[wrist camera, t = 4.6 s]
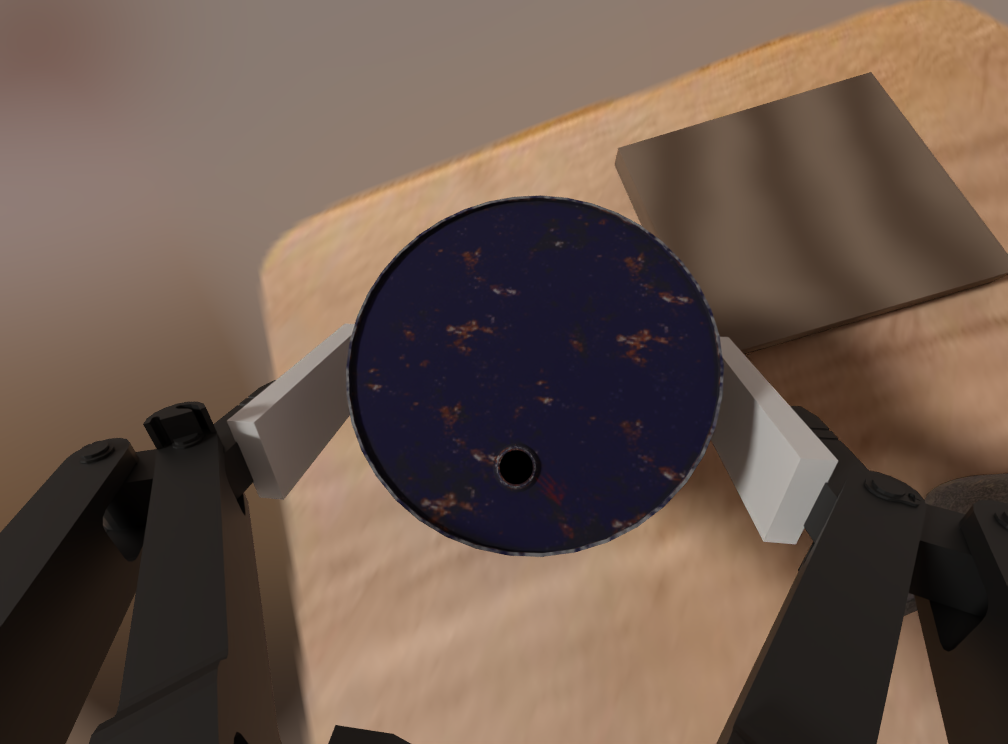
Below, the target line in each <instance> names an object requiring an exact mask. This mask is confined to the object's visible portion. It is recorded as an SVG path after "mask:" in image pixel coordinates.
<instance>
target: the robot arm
mask: <svg viewBox="0 0 1008 744" xmlns="http://www.w3.org/2000/svg"><path fill="white" fill-rule="evenodd" d="M354 325H355V324H344V325H343V326H341V327H340V328H339V329H338V330H337V331H335V332H334V333H333V334H332V335H330V336H329V337H328V338H327V339H326V340H324V341H323V342H322V343H321V344H320V345H318V346H317V347H316V348H315V349H313V350H312V351H311V352H310V353H309V354H307V355H306V356H305V357H304V358H303V359H301V360H300V361H299V362H298V363H296V364H295V365H294V366H293V367H292V368H290V369H289V370H288V371H287V372H285V373H284V374H283V375H282V376H281V377H279V378H278V379H277V380H274V381H272V382H270V383H268V384H266V385H264V386H262V387H260V388H258V389H257V390H256V391H255V392H253V393H252V394H251V395H250V396H249V398H246V399H245V400H243V401H242V402H241V403H240V405H239V406H236V407H235V408H233V409H232V410H231V411H230V412H228V413H227V414H226V415H225V416H223V417H222V418H221V419H220V420H218V421H217V422H216V423H215V424H213V422H212V420H211V419H210V416H209V413H208V411H207V409H206V407H205V405H204V404H203V403H200V402H184V403H179V404H175V405H172V406H169V407H166V408H164V409H162V410H159V411H158V412H155V413H154V414H153V415H151V416H150V417H148V418H147V419H146V421H145V422H144V424H143V425H144V427H145V428H146V430H147V432H148V434H149V436H150V437H151V439H152V441H153V443H154V445H155V446H156V448H157V449H154V450H147V451H140V452H135V451H134V449H133V447H132V446H131V444H130V442H129V441H128V440H127V439H123V438H113V439H107V440H103V441H97V442H94V443H92V444H89V445H86V446H84V447H83V448H82V449H80V450H78V451H76V452H75V453H73V454H72V455H70V456H69V457H68V458H67V459H66V460H65V461H64V462H63V463H62V464H61V465H60V466H59V467H58V469H57V470H56V471H55V472H54V473H53V474H52V475H51V476H50V478H49V479H48V480H47V481H46V482H45V483H44V484H43V485H42V487H41V488H40V489H39V490H38V491H37V492H36V493H35V494H34V495H33V497H32V498H31V499H30V500H29V501H28V502H27V503H26V505H25V506H24V507H23V508H22V509H21V510H20V511H19V512H18V513H17V515H16V516H15V517H14V518H13V519H12V520H11V521H10V523H9V524H8V525H7V526H6V527H5V528H4V529H3V530H2V532H1V533H0V744H65V743H66V741H67V739H68V737H69V735H70V733H71V731H72V728H73V726H74V724H75V722H76V720H77V718H78V716H79V713H80V711H81V709H82V707H83V705H84V703H85V700H86V698H87V696H88V694H89V692H90V689H91V688H92V685H93V683H94V681H95V678H96V677H97V675H98V672H99V670H100V668H101V666H102V664H103V662H104V659H105V657H106V655H107V653H108V651H109V649H110V646H111V644H112V642H113V640H114V638H115V636H116V633H117V631H118V629H119V627H120V625H121V623H122V621H123V618H124V616H125V614H126V612H127V610H128V608H129V606H130V603H131V601H132V599H133V597H134V594H135V593H136V595H135V602H134V609H133V616H132V622H131V629H130V635H129V642H128V648H127V656H126V662H125V668H124V675H123V683H122V689H121V695H120V701H119V706H118V710H117V714H116V715H115V717H113V718H111V719H109V720H107V721H105V722H104V723H102V724H100V725H99V726H98V727H97V728H96V730H95V731H94V733H93V734H92V736H91V739H90V742H89V744H282V743H281V740H280V736H279V731H278V725H277V719H276V711H275V703H274V696H273V689H272V681H271V673H270V666H269V658H268V650H267V642H266V634H265V627H264V619H263V612H262V604H261V596H260V589H259V582H258V573H257V566H256V559H255V551H254V543H253V535H252V528H251V520H250V513H249V505H248V500H247V498H246V495H245V493H244V492H245V490H246V489H247V488H248V487H249V486H250V485H251V484H252V483H254V486H255V488H256V490H257V493H258V495H259V497H262V498H274V499H285V497H286V496H287V495H288V493H289V492H290V491H291V490H292V488H293V487H294V486H295V485H296V483H297V482H298V481H299V479H300V478H301V477H302V476H303V474H304V473H305V472H306V471H307V469H308V468H309V467H310V465H311V464H312V463H313V462H314V460H315V459H316V458H317V456H318V455H319V454H320V453H321V451H322V450H323V449H324V448H325V446H326V445H327V444H328V442H329V441H330V440H331V439H332V437H333V436H334V435H335V433H336V432H337V431H338V430H339V428H340V427H341V426H342V425H343V423H344V422H345V421H346V419H347V418H348V417H349V416H350V411H349V406H348V401H347V390H346V365H347V358H348V350H349V343H350V339H351V336H352V332H353V329H354ZM720 342H721V349H722V357H723V364H724V373H723V396H722V401H721V406H720V410H719V415H718V419H717V424H716V427H715V430H714V432H713V435H712V437H711V441H712V443H713V445H714V447H715V449H716V450H717V452H718V454H719V456H720V458H721V460H722V462H723V464H724V466H725V468H726V470H727V472H728V474H729V476H730V478H731V480H732V481H733V483H734V485H735V487H736V489H737V491H738V493H739V495H740V497H741V499H742V501H743V503H744V505H745V507H746V509H747V510H748V512H749V514H750V516H751V518H752V520H753V522H754V524H755V526H756V528H757V530H758V532H759V534H760V536H761V538H762V539H763V541H764V542H774V543H786V544H796V543H797V541H798V539H799V537H800V535H801V533H802V531H803V529H804V527H805V529H806V530H807V532H808V534H809V535H810V537H811V538H812V540H813V541H814V542H813V543H812V545H811V547H810V549H809V551H808V553H807V555H806V556H805V558H804V560H803V562H802V564H801V566H800V568H799V569H798V571H799V572H798V574H797V576H796V578H795V580H794V582H793V584H792V586H791V589H790V591H789V593H788V595H787V597H786V599H785V601H784V603H783V605H782V607H781V610H780V612H779V614H778V616H777V618H776V620H775V622H774V624H773V626H772V628H771V630H770V633H769V635H768V637H767V639H766V641H765V643H764V645H763V647H762V649H761V651H760V653H759V656H758V658H757V660H756V662H755V664H754V666H753V668H752V670H751V672H750V674H749V677H748V679H747V681H746V683H745V685H744V687H743V689H742V691H741V693H740V695H739V697H738V700H737V702H736V704H735V706H734V708H733V710H732V712H731V714H730V716H729V718H728V720H727V723H726V725H725V727H724V729H723V731H722V733H721V735H720V737H719V739H718V741H717V744H877V739H878V735H879V730H880V725H881V720H882V716H883V711H884V706H885V702H886V697H887V692H888V687H889V683H890V678H891V673H892V669H893V664H894V659H895V655H896V650H897V645H898V640H899V636H900V631H901V626H902V622H903V617H904V612H905V607H906V603H907V598H908V593H910V594H913V595H914V597H915V602H916V606H917V610H918V614H919V619H920V623H921V627H922V632H923V636H924V640H925V645H926V649H927V653H928V658H929V662H930V666H931V671H932V675H933V679H934V684H935V688H936V692H937V696H938V701H939V705H940V709H941V714H942V718H943V722H944V727H945V731H946V735H947V740H948V744H1008V503H1004V502H999V501H994V500H979V501H978V502H976V503H974V504H973V505H972V506H971V508H970V509H969V510H968V512H967V513H966V514H963V513H959V512H955V511H951V510H948V509H944V508H940V507H936V506H932V505H928V504H926V503H925V500H924V499H923V498H922V497H921V495H920V494H919V493H918V492H917V491H916V490H914V489H913V488H911V487H910V486H908V485H907V484H906V483H904V482H902V481H900V480H898V479H895V478H893V477H891V476H888V475H885V474H882V473H879V472H874V471H869V470H868V469H867V468H866V467H865V466H864V465H863V464H862V463H861V461H860V460H859V459H858V458H857V457H856V456H855V455H854V454H853V453H852V452H851V451H850V450H849V449H848V448H847V447H846V446H845V445H844V444H843V443H842V442H841V441H838V437H837V436H836V435H835V434H834V433H833V432H832V431H829V428H828V427H827V426H826V425H825V424H824V423H823V422H822V421H821V420H820V419H819V418H818V417H817V416H816V415H814V414H812V413H811V412H809V411H807V410H806V409H804V408H802V407H801V406H789V405H788V403H787V402H786V401H785V400H784V399H783V398H782V397H781V396H780V394H779V393H778V392H777V391H776V390H775V389H774V388H773V387H772V385H771V384H770V383H769V382H768V381H767V380H766V379H765V378H764V376H763V375H762V374H761V373H760V372H759V371H758V370H757V369H756V367H755V366H754V365H753V364H752V363H751V362H750V361H749V360H748V358H747V357H746V356H745V355H744V354H743V353H742V352H741V351H740V349H739V348H738V347H737V346H736V345H735V344H734V343H733V342H732V340H731V339H730V338H729V337H720ZM328 744H410V743H409V742H407V741H405V740H403V739H401V738H400V737H398V736H396V735H394V734H390V733H384V732H377V731H371V730H364V729H357V728H351V727H344V726H338V725H335V728H334V730H333V733H332V736H331V738H330V741H329V743H328Z"/></svg>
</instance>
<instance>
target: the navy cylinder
mask: <svg viewBox="0 0 1008 744" xmlns="http://www.w3.org/2000/svg"><path fill="white" fill-rule="evenodd" d="M723 373H724V364H723V357H722V349H721V342H720V336H719V333H718V329H717V326H716V323H715V320H714V316H713V313H712V310H711V308H710V306H709V304H708V302H707V300H706V298H705V296H704V294H703V292H702V290H701V288H700V286H699V284H698V283H697V281H696V280H695V278H694V277H693V276H692V274H691V273H690V272H689V270H688V269H687V267H686V266H685V265H684V263H683V262H682V261H681V260H680V259H679V258H678V257H677V256H676V255H675V254H674V253H673V252H672V251H671V250H670V249H669V248H668V247H667V246H666V245H665V244H664V243H663V242H662V241H661V240H660V239H658V238H657V237H656V236H654V235H653V234H652V233H650V232H649V231H648V230H646V229H645V228H644V227H642V226H641V225H639V224H637V223H635V222H633V221H632V220H630V219H628V218H626V217H624V216H622V215H620V214H619V213H616V212H614V211H611V210H608V209H606V208H603V207H600V206H598V205H595V204H592V203H588V202H583V201H579V200H574V199H569V198H562V197H550V196H523V197H511V198H506V199H500V200H495V201H489V202H486V203H483V204H480V205H477V206H473V207H470V208H467V209H464V210H462V211H460V212H458V213H456V214H454V215H452V216H449V217H447V218H445V219H443V220H441V221H439V222H438V223H436V224H435V225H433V226H432V227H430V228H429V229H427V230H426V231H424V232H422V233H421V234H419V235H418V236H417V237H416V238H415V239H414V240H412V241H411V242H410V243H409V244H408V245H407V246H405V247H404V248H403V249H402V250H401V251H400V252H399V253H398V254H397V255H396V256H395V257H394V258H393V260H392V261H391V262H390V263H389V264H388V265H387V266H386V268H385V269H384V270H383V271H382V272H381V274H380V275H379V277H378V279H377V280H376V282H375V283H374V285H373V286H372V288H371V289H370V291H369V292H368V294H367V296H366V298H365V301H364V303H363V305H362V307H361V309H360V311H359V314H358V316H357V319H356V322H355V325H354V329H353V332H352V336H351V339H350V343H349V350H348V358H347V365H346V390H347V401H348V406H349V411H350V417H351V422H352V426H353V428H354V431H355V434H356V437H357V439H358V442H359V445H360V448H361V450H362V452H363V454H364V456H365V458H366V459H367V461H368V463H369V465H370V466H371V468H372V470H373V472H374V473H375V475H376V477H377V478H378V479H379V480H380V482H381V483H382V484H383V485H384V487H385V488H386V489H387V490H388V491H389V493H390V494H391V495H392V496H393V498H394V499H395V500H396V501H397V502H398V503H400V504H401V505H402V506H403V507H404V508H405V509H406V510H408V511H409V512H410V513H411V514H412V515H413V516H414V517H416V518H417V519H418V520H419V521H421V522H423V523H424V524H426V525H428V526H429V527H431V528H432V529H434V530H436V531H437V532H439V533H441V534H442V535H444V536H446V537H448V538H451V539H453V540H456V541H458V542H461V543H463V544H466V545H468V546H471V547H473V548H476V549H480V550H485V551H490V552H494V553H499V554H504V555H509V556H535V557H544V556H551V555H559V554H566V553H574V552H578V551H581V550H584V549H588V548H591V547H594V546H597V545H600V544H604V543H607V542H609V541H611V540H613V539H615V538H617V537H619V536H621V535H623V534H625V533H627V532H629V531H630V530H632V529H634V528H636V527H638V526H639V525H641V524H642V523H643V522H645V521H646V520H647V519H649V518H650V517H651V516H653V515H654V514H655V513H656V512H658V511H659V510H660V509H662V508H663V507H664V506H665V505H666V504H667V503H668V502H669V501H670V500H671V499H672V498H673V497H674V496H675V494H676V493H677V492H678V491H679V490H680V489H681V488H682V487H683V486H684V485H685V484H686V483H687V481H688V479H689V478H690V476H691V475H692V473H693V472H694V470H695V469H696V467H697V465H698V464H699V462H700V461H701V459H702V458H703V456H704V454H705V452H706V449H707V447H708V444H709V442H710V439H711V437H712V435H713V432H714V430H715V427H716V424H717V419H718V415H719V410H720V406H721V401H722V396H723Z"/></svg>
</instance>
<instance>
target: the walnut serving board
mask: <svg viewBox="0 0 1008 744" xmlns="http://www.w3.org/2000/svg"><path fill="white" fill-rule="evenodd" d="M615 167H616V169H617V171H618V173H619V176H620V178H621V180H622V182H623V185H624V187H625V189H626V191H627V193H628V196H629V198H630V200H631V202H632V205H633V207H634V209H635V211H636V214H637V216H638V218H639V220H640V223H641V225H642V227H644V228H645V229H646V230H648V231H649V232H650V233H652V234H653V235H654V236H656V237H657V238H658V239H660V240H661V241H662V242H663V243H664V244H665V245H666V246H667V247H668V248H669V249H670V250H671V251H672V252H673V253H674V254H675V255H676V256H677V257H678V258H679V259H680V260H681V261H682V262H683V263H684V265H685V266H686V267H687V269H688V270H689V272H690V273H691V274H692V276H693V277H694V278H695V280H696V281H697V283H698V284H699V286H700V288H701V290H702V292H703V294H704V296H705V298H706V300H707V302H708V304H709V306H710V308H711V310H712V313H713V316H714V320H715V323H716V326H717V329H718V333H719V336H720V337H729V338H730V339H731V340H732V342H733V343H734V344H735V345H736V346H737V347H738V348H739V349H740V351H741V352H742V353H743V354H745V353H749V352H752V351H756V350H759V349H762V348H766V347H769V346H773V345H776V344H780V343H783V342H787V341H790V340H793V339H797V338H800V337H804V336H807V335H811V334H814V333H818V332H821V331H824V330H828V329H831V328H835V327H838V326H842V325H845V324H849V323H852V322H855V321H859V320H862V319H866V318H869V317H873V316H876V315H880V314H883V313H886V312H890V311H893V310H897V309H900V308H904V307H907V306H910V305H914V304H917V303H921V302H924V301H928V300H931V299H935V298H938V297H941V296H945V295H948V294H952V293H955V292H959V291H962V290H966V289H969V288H972V287H976V286H979V285H983V284H986V283H990V282H992V281H995V280H997V279H999V278H1001V277H1003V276H1005V275H1008V254H1007V253H1006V251H1005V250H1004V249H1003V247H1002V246H1001V245H1000V243H999V242H998V241H997V239H996V238H995V237H994V235H993V234H992V233H991V231H990V230H989V229H988V227H987V226H986V225H985V223H984V222H983V221H982V219H981V218H980V217H979V215H978V214H977V213H976V211H975V210H974V209H973V207H972V206H971V205H970V203H969V202H968V201H967V199H966V198H965V197H964V195H963V194H962V193H961V191H960V190H959V189H958V187H957V186H956V185H955V183H954V182H953V181H952V179H951V178H950V177H949V175H948V174H947V173H946V171H945V170H944V169H943V167H942V166H941V165H940V163H939V162H938V161H937V159H936V158H935V157H934V155H933V154H932V153H931V151H930V150H929V149H928V147H927V146H926V145H925V143H924V142H923V141H922V139H921V138H920V137H919V135H918V134H917V133H916V131H915V130H914V129H913V127H912V126H911V125H910V123H909V122H908V121H907V119H906V118H905V117H904V115H903V114H902V113H901V111H900V110H899V109H898V107H897V106H896V105H895V103H894V102H893V101H892V99H891V98H890V97H889V95H888V94H887V93H886V91H885V90H884V89H883V87H882V86H881V85H880V83H879V82H878V81H877V79H876V78H875V77H874V75H873V74H872V73H871V72H870V73H866V74H863V75H860V76H856V77H853V78H850V79H846V80H843V81H840V82H837V83H833V84H830V85H827V86H823V87H820V88H817V89H813V90H810V91H807V92H803V93H800V94H797V95H793V96H790V97H787V98H783V99H780V100H777V101H773V102H770V103H767V104H763V105H760V106H757V107H753V108H750V109H747V110H743V111H740V112H737V113H733V114H730V115H727V116H723V117H720V118H717V119H713V120H710V121H707V122H703V123H700V124H697V125H694V126H690V127H687V128H684V129H680V130H677V131H674V132H670V133H667V134H664V135H660V136H657V137H654V138H650V139H647V140H644V141H640V142H637V143H634V144H630V145H627V146H624V147H620V148H618V152H617V156H616V161H615Z"/></svg>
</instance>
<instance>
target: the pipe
mask: <svg viewBox="0 0 1008 744" xmlns="http://www.w3.org/2000/svg"><path fill="white" fill-rule="evenodd" d="M979 500H994V501H999V502H1004V503H1008V473H1004V474H991V475H976V476H969V477H963V478H959V479H954V480H952V481H949V482H946V483H944V484H941V485H940V486H938V487H936V488H934V489H933V490H931V491H930V492H929V493H928V494H927V496H926V498H925V503H926V504H928V505H932V506H936V507H940V508H944V509H948V510H951V511H955V512H959V513H963V514H966V513H967V512H968V510H969V509H970V508H971V506H972V505H973V504H974V503H976V502H978V501H979ZM915 611H917V606H916V602H915V597H914V595H913V594H910V593H908V598H907V603H906V607H905V612H904V616H905V615H908V614H910V613H912V612H915Z"/></svg>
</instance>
